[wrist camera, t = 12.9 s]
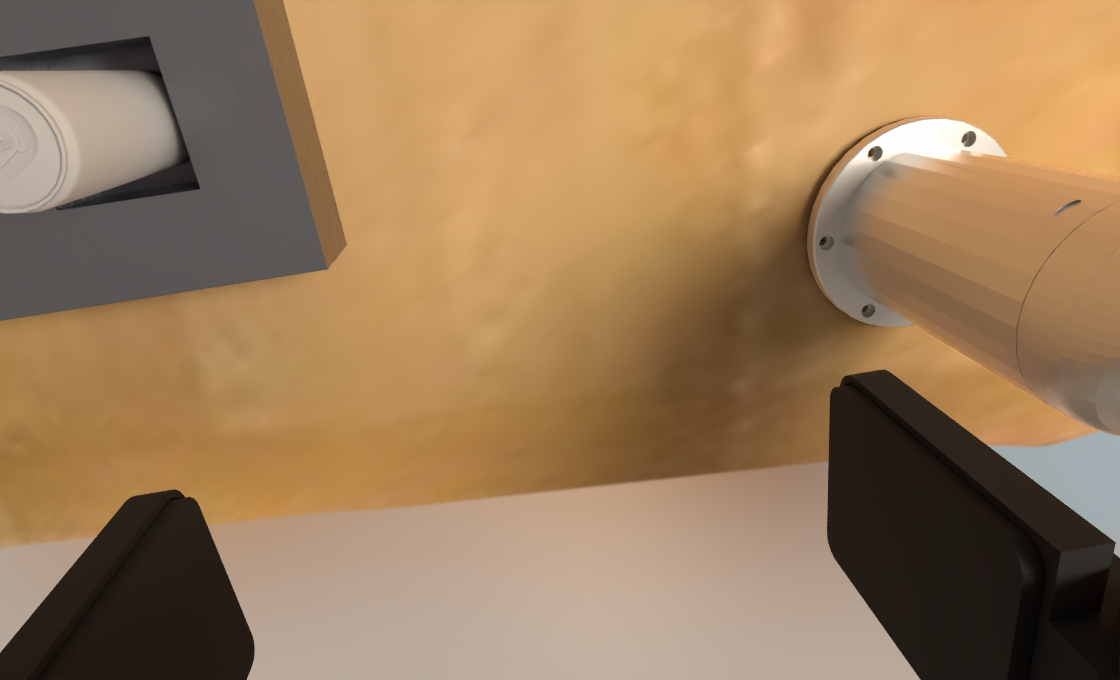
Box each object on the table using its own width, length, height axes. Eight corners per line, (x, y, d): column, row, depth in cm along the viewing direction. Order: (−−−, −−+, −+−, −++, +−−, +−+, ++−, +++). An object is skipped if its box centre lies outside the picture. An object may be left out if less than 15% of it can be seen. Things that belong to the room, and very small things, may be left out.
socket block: (261, -81, 32) (223, -106, 28) (346, 244, 38) (327, 269, 34) (-85, -35, 32) (-182, -52, 27) (58, 289, 38) (-2, 320, 33)
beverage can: (222, 128, 35) (100, 156, 23) (158, 189, 35) (10, 245, 24) (142, 47, 33) (-30, 37, 22) (77, 114, 34) (-122, 137, 23)
